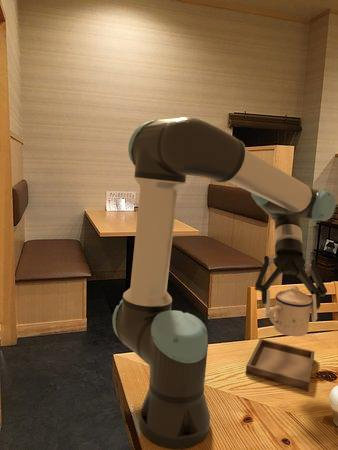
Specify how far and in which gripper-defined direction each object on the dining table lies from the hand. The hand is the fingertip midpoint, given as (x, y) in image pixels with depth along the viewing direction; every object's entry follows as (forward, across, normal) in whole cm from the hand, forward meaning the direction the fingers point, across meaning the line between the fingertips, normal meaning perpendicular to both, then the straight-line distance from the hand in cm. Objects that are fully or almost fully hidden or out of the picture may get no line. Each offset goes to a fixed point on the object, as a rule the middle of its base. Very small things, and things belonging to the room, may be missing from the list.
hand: (290, 317), depth 95 cm
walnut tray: (+7, 0, -19) cm, 20 cm away
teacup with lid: (+2, 0, -6) cm, 6 cm away
